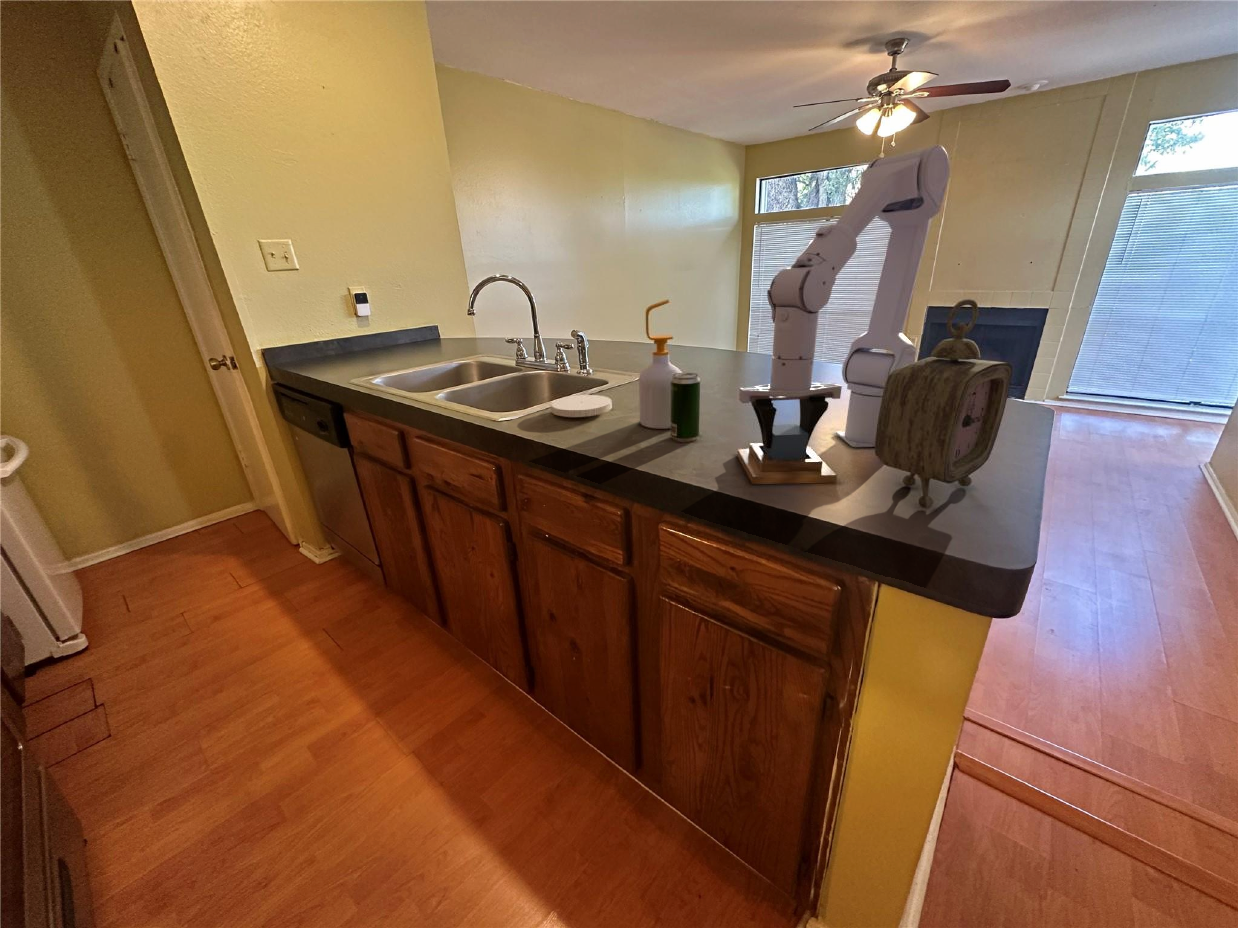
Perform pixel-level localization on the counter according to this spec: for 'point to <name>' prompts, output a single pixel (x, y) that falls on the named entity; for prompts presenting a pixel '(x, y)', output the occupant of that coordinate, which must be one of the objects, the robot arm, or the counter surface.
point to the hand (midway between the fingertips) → (784, 445)
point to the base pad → (784, 467)
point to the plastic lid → (581, 405)
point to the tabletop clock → (943, 411)
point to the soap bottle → (656, 383)
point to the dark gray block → (788, 442)
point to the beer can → (685, 406)
